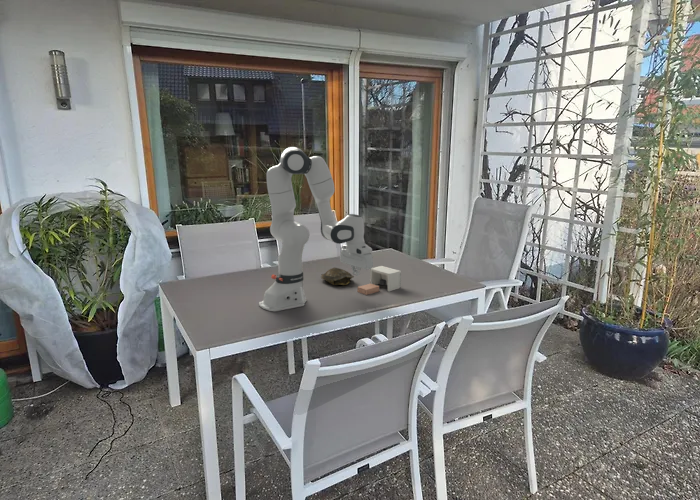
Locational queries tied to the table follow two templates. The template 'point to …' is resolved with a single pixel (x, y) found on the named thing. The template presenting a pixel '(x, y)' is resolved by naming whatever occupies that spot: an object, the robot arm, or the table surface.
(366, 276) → the table surface
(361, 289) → the tan rectangular block
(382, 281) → the stop blocks
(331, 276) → the turtle shell
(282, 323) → the table surface
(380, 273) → the white storage bin
